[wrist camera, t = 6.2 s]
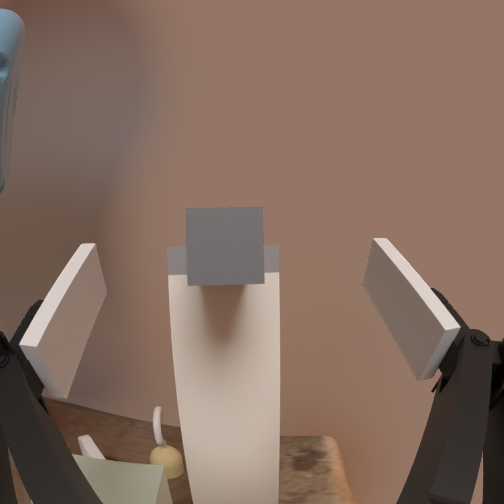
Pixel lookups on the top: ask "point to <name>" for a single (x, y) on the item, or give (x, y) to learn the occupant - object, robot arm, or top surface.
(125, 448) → the top surface
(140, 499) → the shelf
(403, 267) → the robot arm
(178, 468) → the hook
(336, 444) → the top surface
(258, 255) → the bar
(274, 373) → the socket tower
